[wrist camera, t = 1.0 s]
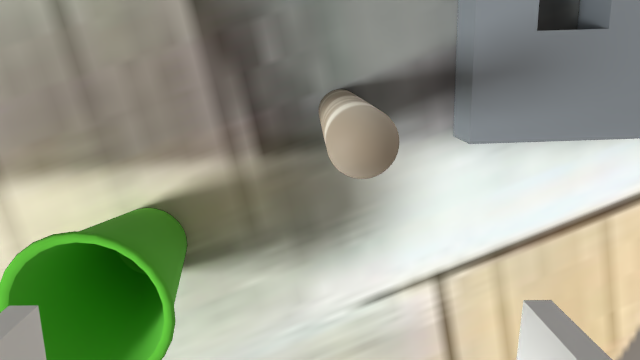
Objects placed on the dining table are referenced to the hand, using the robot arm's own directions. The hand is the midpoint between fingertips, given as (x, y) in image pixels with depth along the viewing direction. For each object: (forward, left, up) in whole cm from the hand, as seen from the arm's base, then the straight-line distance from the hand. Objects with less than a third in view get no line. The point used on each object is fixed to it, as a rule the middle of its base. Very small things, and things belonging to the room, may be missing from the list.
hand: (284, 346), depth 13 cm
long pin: (-4, +3, -22) cm, 22 cm away
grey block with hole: (-11, +17, -22) cm, 30 cm away
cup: (+5, -11, -22) cm, 25 cm away
